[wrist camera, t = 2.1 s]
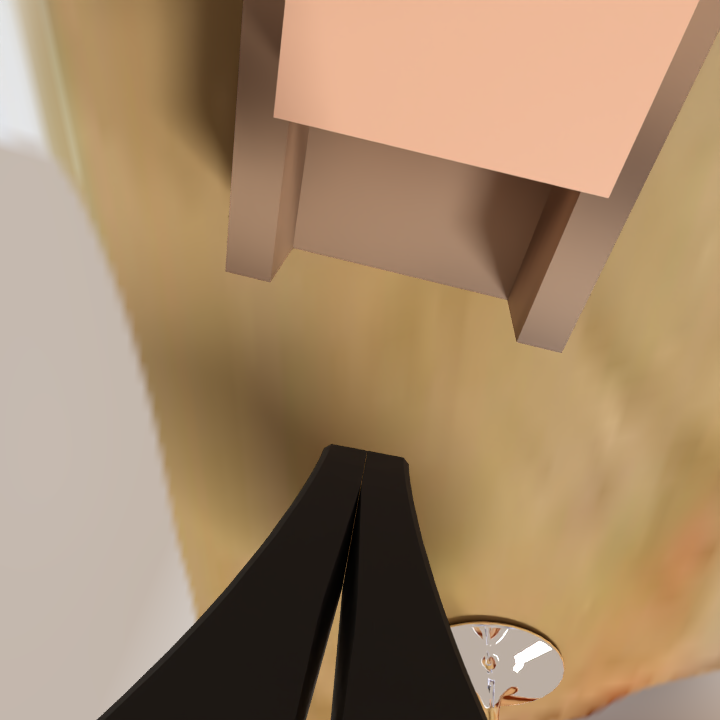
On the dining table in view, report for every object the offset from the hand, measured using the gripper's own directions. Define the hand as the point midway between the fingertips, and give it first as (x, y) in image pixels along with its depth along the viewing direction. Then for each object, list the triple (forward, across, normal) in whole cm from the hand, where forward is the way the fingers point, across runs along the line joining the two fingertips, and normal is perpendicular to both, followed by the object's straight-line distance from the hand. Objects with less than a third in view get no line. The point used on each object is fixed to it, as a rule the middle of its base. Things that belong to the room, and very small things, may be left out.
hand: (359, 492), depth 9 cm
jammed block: (+8, -1, -8) cm, 11 cm away
